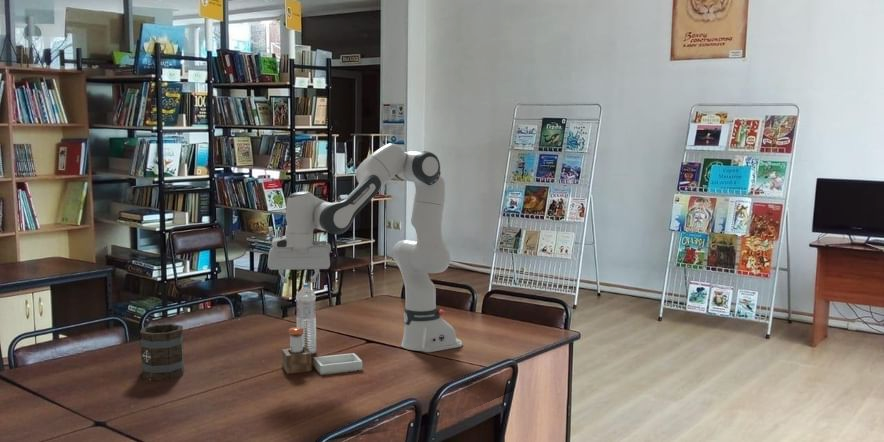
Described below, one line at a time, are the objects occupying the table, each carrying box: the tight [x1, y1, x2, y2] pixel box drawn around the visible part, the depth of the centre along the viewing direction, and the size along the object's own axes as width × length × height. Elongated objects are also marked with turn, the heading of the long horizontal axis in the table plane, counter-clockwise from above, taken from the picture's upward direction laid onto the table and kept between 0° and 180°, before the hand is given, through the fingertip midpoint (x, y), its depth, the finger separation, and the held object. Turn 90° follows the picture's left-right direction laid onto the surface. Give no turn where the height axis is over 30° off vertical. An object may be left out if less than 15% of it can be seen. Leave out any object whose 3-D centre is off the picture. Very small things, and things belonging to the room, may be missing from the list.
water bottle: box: [295, 282, 317, 356], centre depth 272 cm, size 7×7×25 cm
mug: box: [139, 323, 185, 381], centre depth 250 cm, size 20×14×15 cm
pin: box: [288, 326, 304, 354], centre depth 254 cm, size 5×5×14 cm
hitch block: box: [281, 347, 312, 375], centre depth 255 cm, size 8×8×6 cm
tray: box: [313, 352, 363, 376], centre depth 256 cm, size 14×10×3 cm
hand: (298, 282), depth 254 cm, fingers open, 8 cm apart
